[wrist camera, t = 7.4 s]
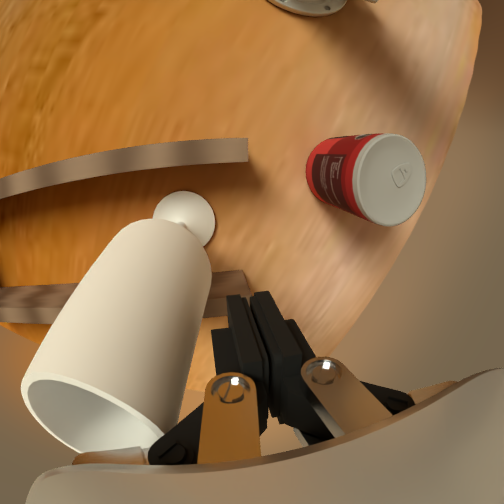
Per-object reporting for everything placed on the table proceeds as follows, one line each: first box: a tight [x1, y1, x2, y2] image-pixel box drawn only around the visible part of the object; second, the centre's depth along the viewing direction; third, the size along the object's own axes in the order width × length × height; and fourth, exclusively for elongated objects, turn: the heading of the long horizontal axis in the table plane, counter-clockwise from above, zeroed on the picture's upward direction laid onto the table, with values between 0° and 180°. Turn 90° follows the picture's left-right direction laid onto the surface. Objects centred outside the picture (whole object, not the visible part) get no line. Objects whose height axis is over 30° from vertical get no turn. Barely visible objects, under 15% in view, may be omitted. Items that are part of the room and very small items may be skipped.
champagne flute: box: [21, 191, 215, 453], centre depth 16 cm, size 7×7×24 cm
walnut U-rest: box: [0, 138, 252, 324], centre depth 23 cm, size 38×16×6 cm, turn 92°
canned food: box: [306, 134, 426, 226], centre depth 24 cm, size 8×8×11 cm
